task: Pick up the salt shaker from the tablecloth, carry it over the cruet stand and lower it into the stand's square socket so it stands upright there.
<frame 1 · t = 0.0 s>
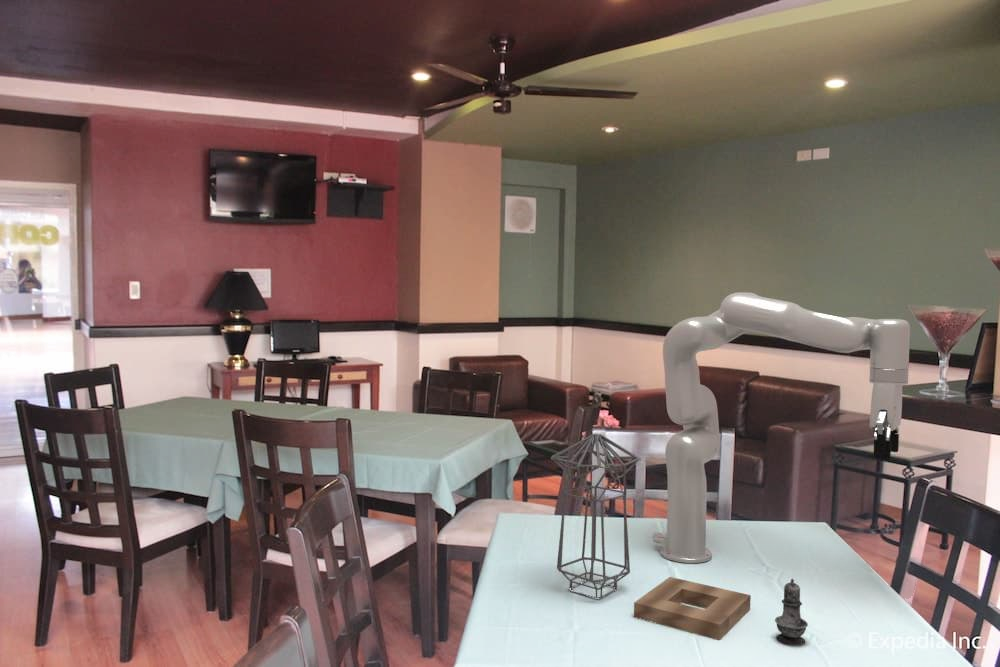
hand: (886, 455, 172), 31 cm above the table, tool pointing down, fingers open, 9 cm apart
salt shaker: (790, 641, 152), on the table
geometric lantern: (594, 589, 178), on the table
cruet stand: (692, 613, 164), on the table
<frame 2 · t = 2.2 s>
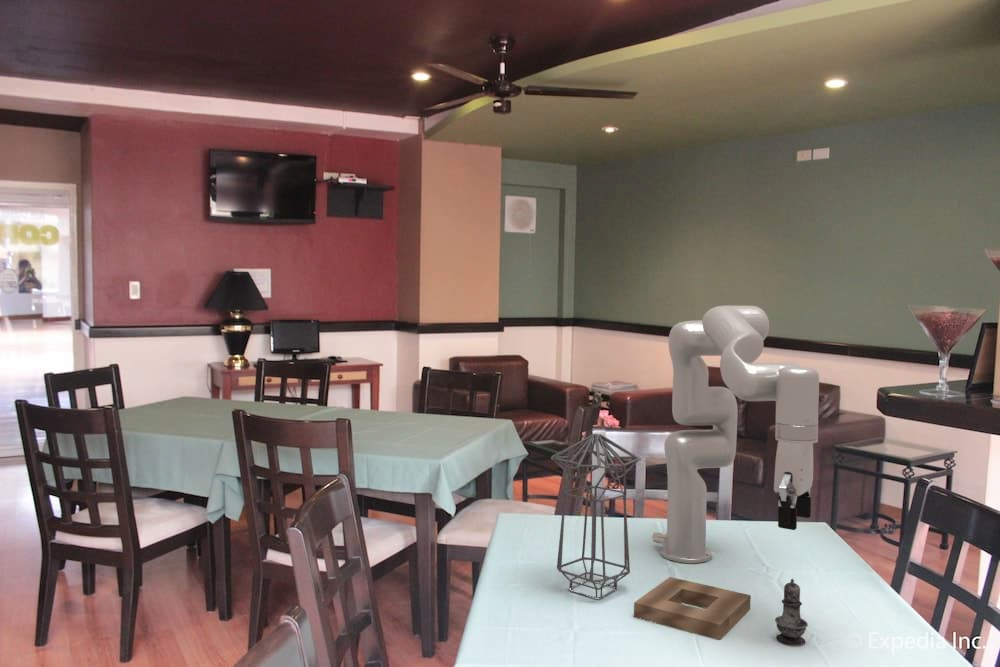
hand: (794, 522, 150), 23 cm above the table, tool pointing down, fingers open, 9 cm apart
nothing on the table moved.
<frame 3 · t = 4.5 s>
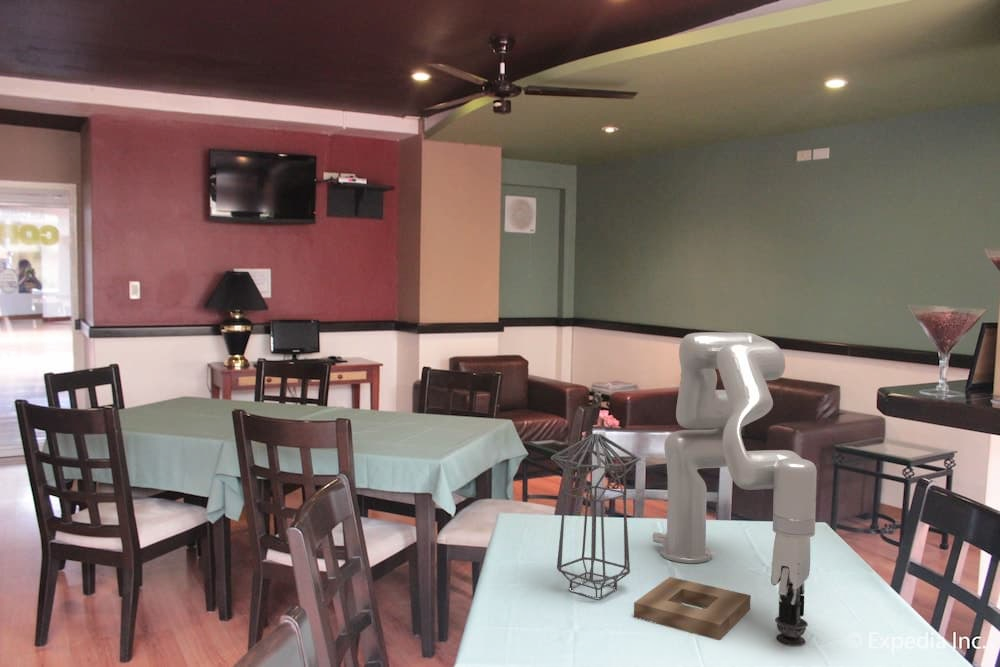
hand: (791, 617, 152), 4 cm above the table, tool pointing down, fingers closed on salt shaker, 4 cm apart
salt shaker: (790, 641, 152), on the table, touching gripper
everything else where it was.
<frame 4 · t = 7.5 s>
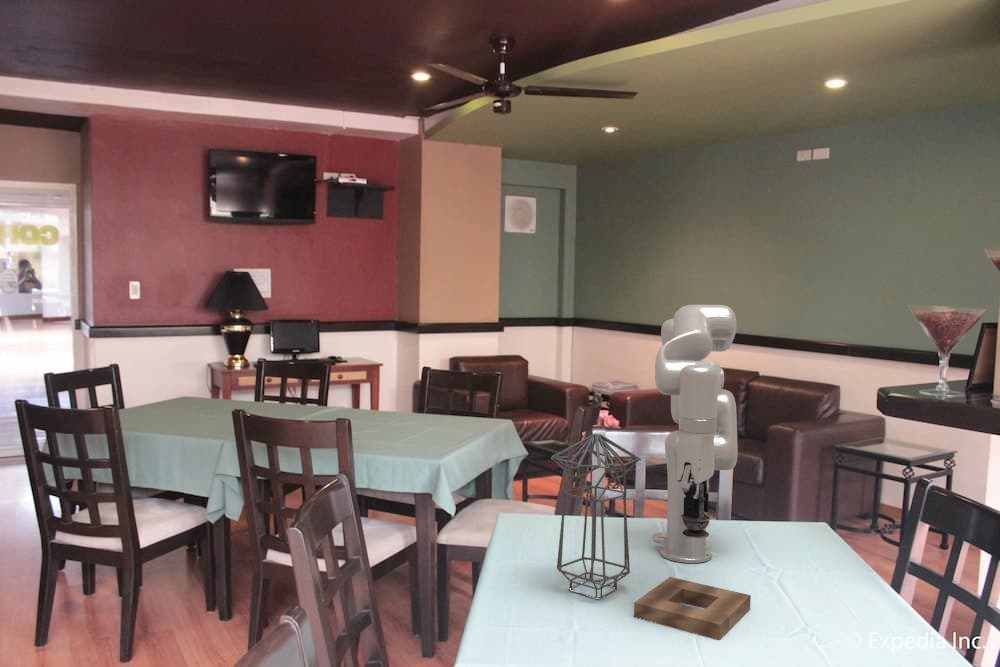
hand: (695, 513, 163), 21 cm above the table, tool pointing down, fingers closed on salt shaker, 4 cm apart
salt shaker: (695, 534, 163), point 16 cm above the table, touching gripper
everything else where it was.
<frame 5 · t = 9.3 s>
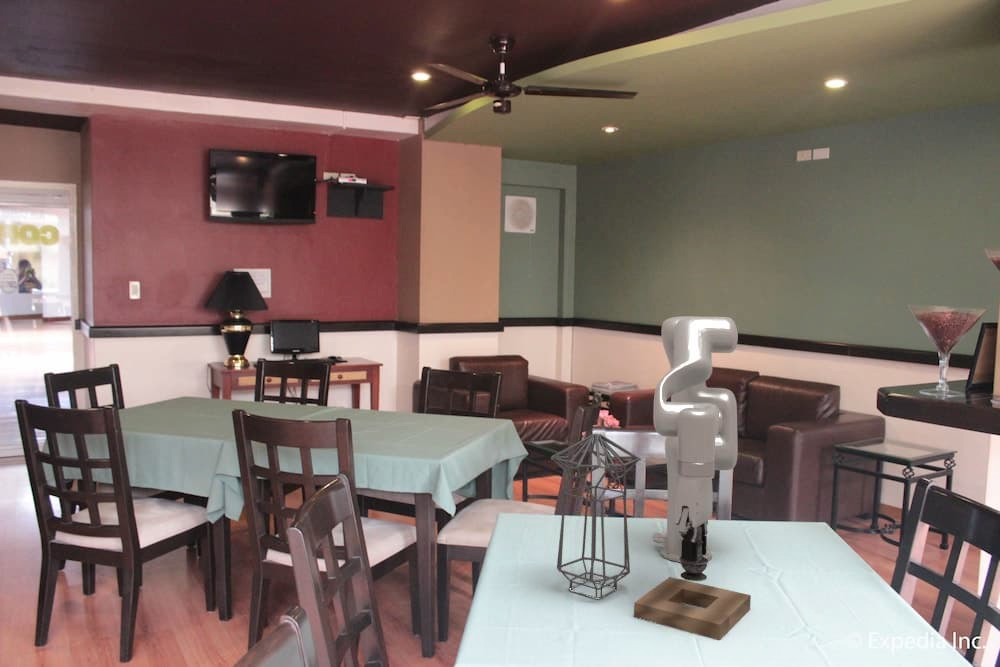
hand: (693, 555, 164), 12 cm above the table, tool pointing down, fingers closed on salt shaker, 4 cm apart
salt shaker: (693, 577, 164), point 8 cm above the table, touching gripper
everything else where it was.
when the fingers open (5 cm above the table, at t = 10.9 s): salt shaker stays where it is, resting in cruet stand.
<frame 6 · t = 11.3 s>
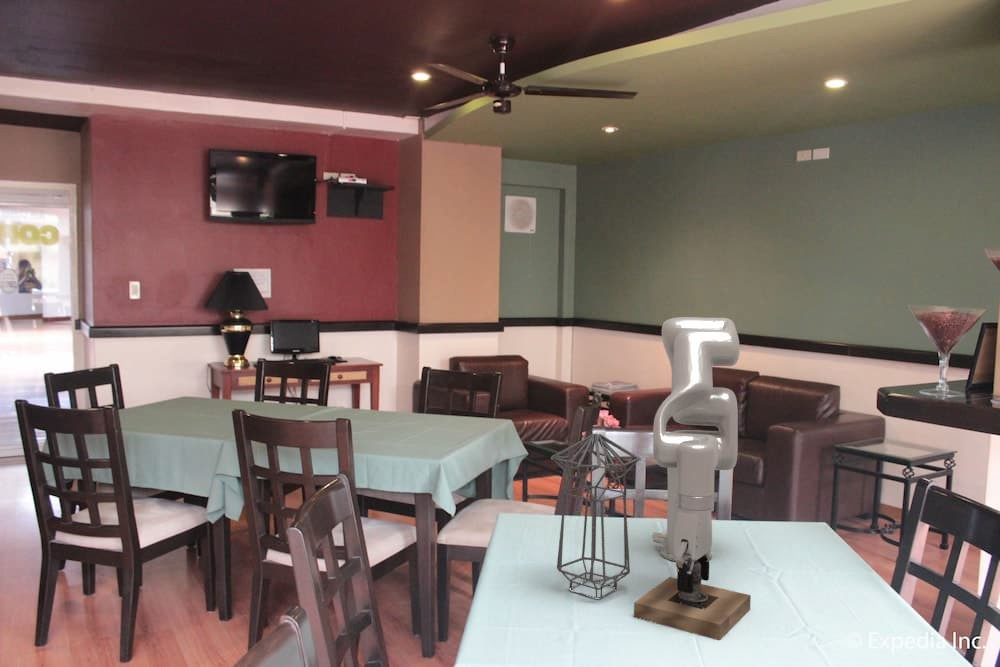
hand: (693, 584, 164), 6 cm above the table, tool pointing down, fingers open, 8 cm apart
salt shaker: (692, 613, 165), resting in cruet stand
everything else where it was.
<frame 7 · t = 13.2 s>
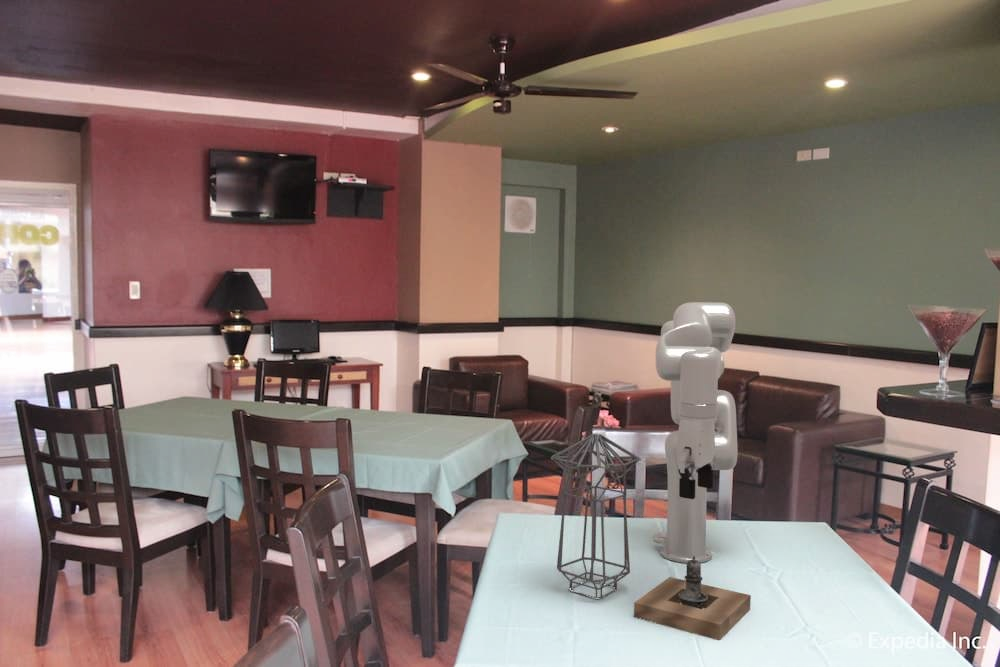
hand: (696, 492, 165), 25 cm above the table, tool pointing down, fingers open, 9 cm apart
nothing on the table moved.
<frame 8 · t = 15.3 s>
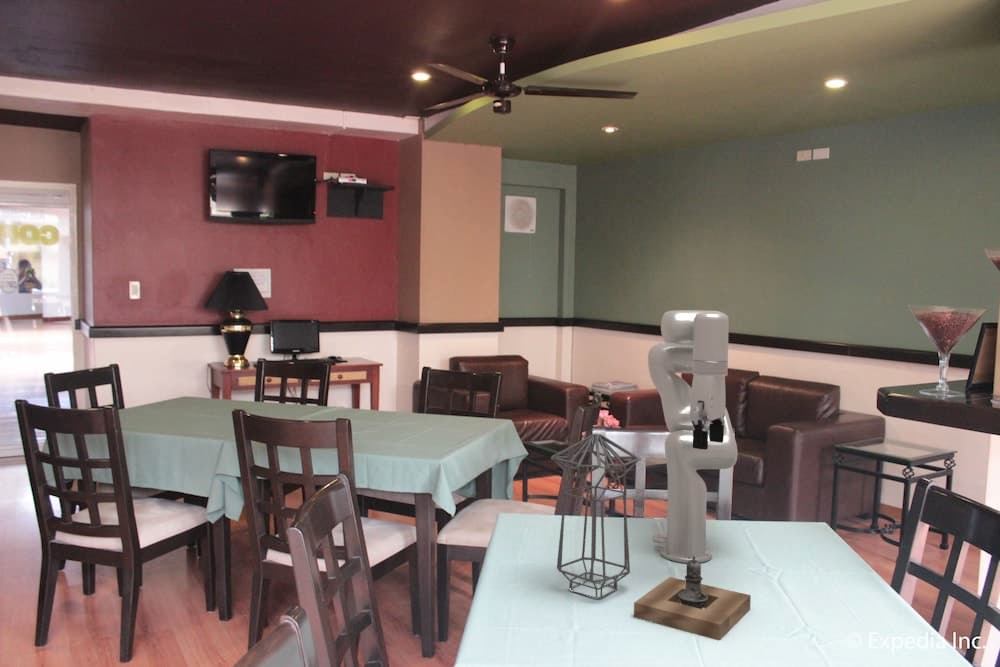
hand: (708, 445, 176), 32 cm above the table, tool pointing down, fingers open, 9 cm apart
nothing on the table moved.
at the end: salt shaker 0.2 cm off-centre on the cruet stand, point 0.0 cm above the cruet stand's base; salt shaker tilted 0°; the gripper is holding nothing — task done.
